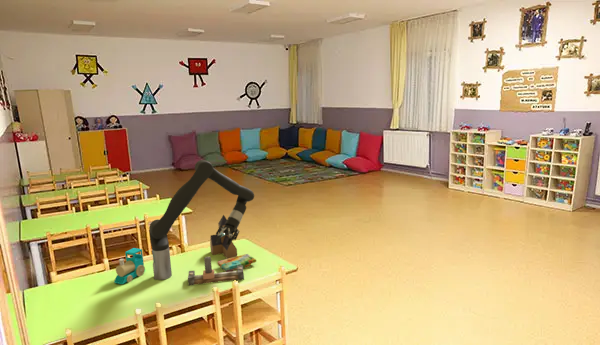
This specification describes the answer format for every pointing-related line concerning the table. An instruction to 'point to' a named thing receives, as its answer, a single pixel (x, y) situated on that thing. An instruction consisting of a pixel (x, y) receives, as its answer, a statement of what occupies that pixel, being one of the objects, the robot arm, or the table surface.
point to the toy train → (130, 267)
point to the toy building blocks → (222, 243)
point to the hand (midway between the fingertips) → (222, 243)
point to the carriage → (208, 269)
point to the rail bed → (224, 278)
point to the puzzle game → (236, 262)
